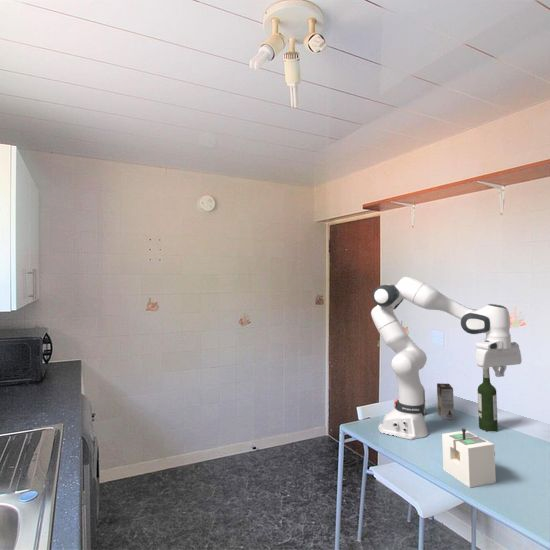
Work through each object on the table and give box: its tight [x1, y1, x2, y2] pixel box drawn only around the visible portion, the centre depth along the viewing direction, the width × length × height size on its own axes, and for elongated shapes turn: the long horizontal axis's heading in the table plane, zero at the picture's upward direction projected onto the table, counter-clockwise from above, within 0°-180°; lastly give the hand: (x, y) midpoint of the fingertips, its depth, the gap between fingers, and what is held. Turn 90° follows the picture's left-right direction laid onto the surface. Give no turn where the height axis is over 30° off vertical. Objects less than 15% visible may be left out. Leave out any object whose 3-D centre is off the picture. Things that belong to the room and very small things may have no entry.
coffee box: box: [436, 382, 455, 420], centre depth 194 cm, size 9×6×16 cm
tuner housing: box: [441, 429, 497, 489], centre depth 134 cm, size 11×13×14 cm
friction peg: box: [456, 427, 496, 460], centre depth 135 cm, size 12×6×12 cm, turn 105°
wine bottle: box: [477, 367, 499, 432], centre depth 176 cm, size 8×8×30 cm
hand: (499, 376), depth 153 cm, fingers closed
